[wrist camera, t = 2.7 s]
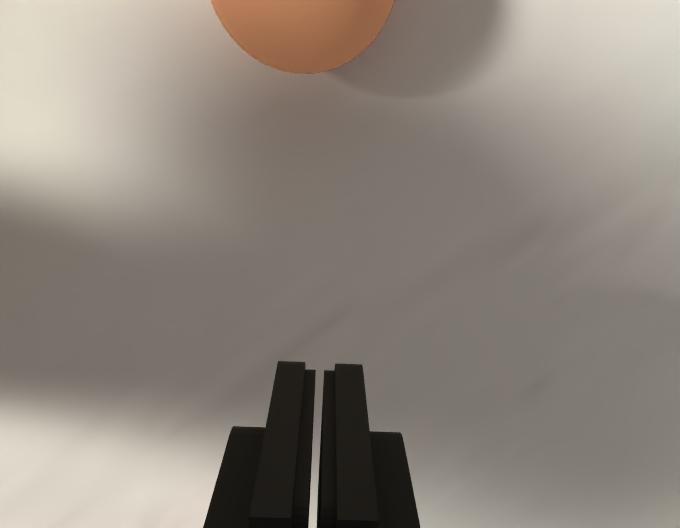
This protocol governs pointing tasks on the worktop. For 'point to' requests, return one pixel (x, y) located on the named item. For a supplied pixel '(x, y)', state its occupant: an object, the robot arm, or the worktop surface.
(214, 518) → the robot arm
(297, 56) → the ball
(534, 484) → the worktop surface
